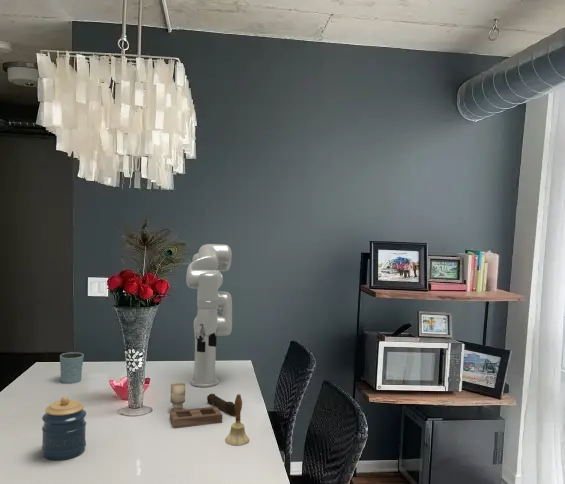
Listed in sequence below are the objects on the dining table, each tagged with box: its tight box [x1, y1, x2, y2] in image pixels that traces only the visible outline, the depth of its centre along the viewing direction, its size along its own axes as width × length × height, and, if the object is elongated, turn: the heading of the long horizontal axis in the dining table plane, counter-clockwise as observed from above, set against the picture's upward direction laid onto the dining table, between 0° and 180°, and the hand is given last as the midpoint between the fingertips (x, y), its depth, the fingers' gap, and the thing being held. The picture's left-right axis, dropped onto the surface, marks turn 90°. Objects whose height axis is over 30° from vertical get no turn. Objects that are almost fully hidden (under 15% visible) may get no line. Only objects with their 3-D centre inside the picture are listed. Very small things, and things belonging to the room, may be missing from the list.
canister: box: [41, 396, 87, 461], centre depth 165 cm, size 13×13×18 cm
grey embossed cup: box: [59, 351, 85, 385], centre depth 235 cm, size 10×10×12 cm
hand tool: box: [206, 393, 236, 417], centre depth 206 cm, size 19×4×5 cm, turn 36°
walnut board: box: [168, 405, 223, 429], centre depth 193 cm, size 9×18×3 cm, turn 111°
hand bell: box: [224, 393, 250, 446], centre depth 177 cm, size 8×8×16 cm
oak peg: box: [170, 382, 186, 411], centre depth 204 cm, size 6×6×10 cm
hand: (206, 349), depth 199 cm, fingers open, 9 cm apart
